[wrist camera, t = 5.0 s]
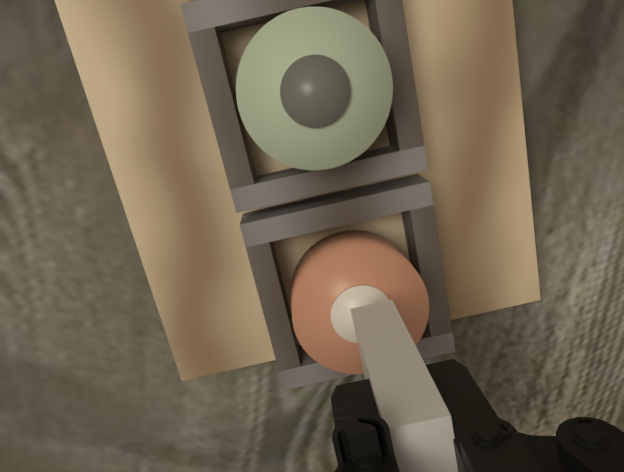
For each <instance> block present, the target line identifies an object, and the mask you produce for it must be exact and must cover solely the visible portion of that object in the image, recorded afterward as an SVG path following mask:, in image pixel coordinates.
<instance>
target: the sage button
mask: <svg viewBox="0 0 624 472" xmlns="http://www.w3.org/2000/svg"><path fill="white" fill-rule="evenodd" d="M392 97H393V81H392V73H391V68H390V64H389V61H388V59H387V56H386V53H385V52H384V50H383V48H382V46H381V44H380V43H379V41H378V40H377V38H376V37H375V35H374V34H373V33H372V32H371V31H370V30H369V29H368V28H367V27H366V26H365V25H363V24H362V23H361V22H360V21H358V20H357V19H355V18H354V17H352V16H350V15H348V14H346V13H344V12H341V11H339V10H335V9H332V8H326V7H303V8H297V9H294V10H290V11H287V12H285V13H283V14H281V15H279V16H277V17H275V18H274V19H272V20H271V21H269V22H268V23H267V24H265V25H264V26H263V27H262V28H261V29H260V30H259V31H258V32H257V33H256V34H255V36H254V37H253V38H252V39H251V41H250V42H249V44H248V45H247V47H246V49H245V51H244V53H243V55H242V58H241V61H240V64H239V67H238V72H237V77H236V100H237V105H238V110H239V113H240V116H241V119H242V122H243V124H244V126H245V128H246V130H247V131H248V133H249V135H250V136H251V138H252V139H253V140H254V141H255V143H256V144H257V145H258V146H259V147H260V148H261V149H262V150H263V151H264V152H265V153H266V154H268V155H269V156H271V157H272V158H273V159H275V160H277V161H279V162H281V163H283V164H285V165H288V166H290V167H294V168H298V169H303V170H325V169H331V168H335V167H338V166H341V165H343V164H346V163H348V162H350V161H352V160H353V159H355V158H356V157H358V156H359V155H361V154H362V153H363V152H364V151H366V150H367V149H368V148H369V147H370V146H371V145H372V144H373V142H374V141H375V140H376V138H377V137H378V136H379V134H380V132H381V131H382V129H383V127H384V125H385V123H386V121H387V118H388V116H389V112H390V108H391V104H392Z"/></svg>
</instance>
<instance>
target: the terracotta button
mask: <svg viewBox="0 0 624 472" xmlns="http://www.w3.org/2000/svg"><path fill="white" fill-rule="evenodd" d="M388 300H393V302H394V304H395V306H396V308H397V310H398V312H399V314H400V316H401V318H402V320H403V322H404V324H405V326H406V328H407V330H408V332H409V334H410V336H411V338H412V340H413V342H414V344H415V346H416V345H417V343H418V342H419V340H420V339H421V337H422V335H423V333H424V331H425V328H426V325H427V321H428V316H429V298H428V294H427V290H426V287H425V285H424V282H423V280H422V279H421V277H420V275H419V274H418V272H417V271H416V270H415V268H414V267H413V266H412V264H411V263H410V262H409V260H408V259H407V258H406V256H405V255H404V254H403V253H402V251H401V250H400V249H399V248H398V247H397V246H396V245H395V244H394V243H392V242H391V241H390V240H388V239H387V238H385V237H383V236H381V235H378V234H376V233H373V232H368V231H362V230H348V231H342V232H338V233H334V234H331V235H329V236H327V237H324V238H323V239H321V240H319V241H318V242H316V243H315V244H314V245H313V246H311V247H310V248H309V249H308V250H307V251H306V252H305V253H304V255H303V256H302V257H301V259H300V260H299V262H298V264H297V266H296V268H295V270H294V273H293V277H292V281H291V308H292V322H293V328H294V331H295V334H296V337H297V339H298V341H299V343H300V344H301V346H302V347H303V349H304V350H305V351H306V352H307V354H308V355H309V356H310V357H311V358H313V359H314V360H315V361H316V362H318V363H319V364H321V365H323V366H324V367H327V368H329V369H331V370H334V371H337V372H341V373H346V374H364V371H363V366H362V361H361V357H360V352H359V347H358V343H357V338H356V333H355V329H354V324H353V319H352V315H351V310H350V309H352V308H356V307H361V306H365V305H370V304H374V303H379V302H383V301H388Z"/></svg>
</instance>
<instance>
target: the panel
mask: <svg viewBox="0 0 624 472" xmlns="http://www.w3.org/2000/svg"><path fill="white" fill-rule="evenodd" d="M55 3H56V6H57V9H58V12H59V15H60V18H61V21H62V24H63V27H64V30H65V33H66V36H67V39H68V42H69V45H70V48H71V51H72V54H73V57H74V60H75V63H76V66H77V69H78V72H79V75H80V78H81V81H82V84H83V87H84V90H85V93H86V96H87V99H88V102H89V105H90V108H91V111H92V114H93V117H94V120H95V123H96V126H97V129H98V132H99V135H100V138H101V141H102V144H103V147H104V150H105V153H106V156H107V159H108V162H109V165H110V168H111V171H112V174H113V177H114V180H115V183H116V186H117V189H118V192H119V195H120V198H121V201H122V204H123V207H124V210H125V213H126V216H127V219H128V222H129V225H130V228H131V231H132V234H133V237H134V240H135V243H136V245H137V248H138V251H139V254H140V257H141V260H142V263H143V266H144V269H145V272H146V275H147V278H148V281H149V284H150V287H151V290H152V293H153V296H154V299H155V302H156V305H157V308H158V311H159V314H160V317H161V320H162V323H163V326H164V329H165V332H166V335H167V338H168V341H169V344H170V347H171V350H172V353H173V356H174V359H175V362H176V365H177V368H178V371H179V374H180V377H181V380H182V381H185V380H189V379H193V378H198V377H202V376H207V375H211V374H216V373H220V372H224V371H229V370H233V369H238V368H242V367H247V366H251V365H255V364H260V363H264V362H269V361H273V360H276V362H277V366H278V370H279V374H280V377H281V381H282V385H283V388H284V390H289V389H293V388H297V387H302V386H306V385H311V384H315V383H320V382H324V381H328V380H333V379H337V378H342V377H346V376H350V375H355V374H346V373H341V372H337V371H334V370H331V369H329V368H327V367H324V366H323V365H321V364H319V363H318V362H316V361H315V360H314V359H313V358H311V357H310V356H309V355H308V354H307V352H306V351H305V350H304V349H303V347H302V346H301V344H300V343H299V341H298V339H297V337H296V334H295V331H294V328H293V322H292V308H291V281H292V277H293V273H294V270H295V268H296V266H297V264H298V262H299V260H300V259H301V257H302V256H303V255H304V253H305V252H306V251H307V250H308V249H309V248H310V247H311V246H313V245H314V244H315V243H316V242H318V241H319V240H321V239H323V238H324V237H327V236H329V235H331V234H334V233H338V232H342V231H348V230H362V231H368V232H373V233H376V234H378V235H381V236H383V237H385V238H387V239H388V240H390V241H391V242H392V243H394V244H395V245H396V246H397V247H398V248H399V249H400V250H401V251H402V253H403V254H404V255H405V256H406V258H407V259H408V260H409V262H410V263H411V264H412V266H413V267H414V268H415V270H416V271H417V272H418V274H419V275H420V277H421V279H422V280H423V282H424V285H425V287H426V290H427V294H428V298H429V316H428V321H427V325H426V328H425V331H424V333H423V335H422V337H421V339H420V340H419V342H418V343H417V345H416V347H417V349H418V351H419V353H420V355H421V357H422V359H426V358H430V357H434V356H439V355H443V354H448V353H452V352H456V350H455V343H454V336H453V330H452V323H451V320H454V319H459V318H463V317H467V316H472V315H476V314H481V313H485V312H489V311H494V310H498V309H503V308H507V307H512V306H516V305H520V304H525V303H529V302H534V301H538V300H541V298H540V288H539V277H538V266H537V256H536V245H535V235H534V224H533V214H532V203H531V192H530V182H529V171H528V161H527V150H526V139H525V129H524V118H523V108H522V97H521V86H520V76H519V65H518V55H517V44H516V33H515V23H514V12H513V2H512V0H55ZM303 7H326V8H332V9H335V10H339V11H341V12H344V13H346V14H348V15H350V16H352V17H354V18H355V19H357V20H358V21H360V22H361V23H362V24H363V25H365V26H366V27H367V28H368V29H369V30H370V31H371V32H372V33H373V34H374V35H375V37H376V38H377V40H378V41H379V43H380V44H381V46H382V48H383V50H384V52H385V53H386V56H387V59H388V61H389V64H390V68H391V73H392V81H393V97H392V104H391V108H390V112H389V116H388V118H387V121H386V123H385V125H384V127H383V129H382V131H381V132H380V134H379V136H378V137H377V138H376V140H375V141H374V142H373V144H372V145H371V146H370V147H369V148H368V149H367V150H366V151H364V152H363V153H362V154H361V155H359V156H358V157H356V158H355V159H353V160H352V161H350V162H348V163H346V164H343V165H341V166H338V167H335V168H331V169H325V170H303V169H298V168H294V167H290V166H288V165H285V164H283V163H281V162H279V161H277V160H275V159H273V158H272V157H271V156H269V155H268V154H266V153H265V152H264V151H263V150H262V149H261V148H260V147H259V146H258V145H257V144H256V143H255V141H254V140H253V139H252V138H251V136H250V135H249V133H248V131H247V130H246V128H245V126H244V124H243V122H242V119H241V116H240V113H239V110H238V105H237V100H236V77H237V72H238V67H239V64H240V61H241V58H242V55H243V53H244V51H245V49H246V47H247V45H248V44H249V42H250V41H251V39H252V38H253V37H254V36H255V34H256V33H257V32H258V31H259V30H260V29H261V28H262V27H263V26H264V25H265V24H267V23H268V22H269V21H271V20H272V19H274V18H275V17H277V16H279V15H281V14H283V13H285V12H287V11H290V10H294V9H297V8H303Z"/></svg>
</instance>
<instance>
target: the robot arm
mask: <svg viewBox="0 0 624 472" xmlns="http://www.w3.org/2000/svg"><path fill="white" fill-rule="evenodd" d="M350 310H351V315H352V319H353V324H354V329H355V333H356V338H357V343H358V347H359V352H360V357H361V361H362V366H363V371H364V375H365V379H366V380H361V381H357V382H352V383H348V384H343V385H338V386H336V388H335V390H334V392H333V394H332V396H331V402H332V408H333V415H334V422H335V429H334V431H333V435H332V441H333V445H334V449H335V453H336V457H337V461H338V467H337V469H336V470H335V472H624V432H622V431H621V430H619V429H618V428H616V427H615V426H613V425H611V424H609V423H607V422H605V421H603V420H599V419H595V418H591V417H577V418H573V419H569V420H566V421H564V422H563V423H561V424H560V425H559V426H558V429H557V431H556V436H534V435H526V434H522V433H518V432H517V430H516V429H515V428H514V427H513V426H512V425H511V424H510V423H509V422H506V421H504V420H502V419H500V418H498V416H497V415H496V413H495V412H494V410H493V409H492V407H491V405H490V404H489V402H488V401H487V399H486V398H485V396H484V395H483V393H482V392H481V390H480V388H478V385H477V384H476V382H475V381H474V379H473V378H472V376H471V375H470V373H469V371H468V370H467V368H466V367H465V366H463V365H462V364H460V363H458V362H457V361H455V360H453V359H451V360H447V361H442V362H438V363H433V364H428V365H425V363H424V361H423V359H422V357H421V355H420V353H419V351H418V349H417V347H416V346H415V344H414V342H413V340H412V338H411V336H410V334H409V332H408V330H407V328H406V326H405V324H404V322H403V320H402V318H401V316H400V314H399V312H398V310H397V308H396V306H395V304H394V302H393V300H388V301H383V302H379V303H374V304H370V305H365V306H361V307H356V308H352V309H350Z"/></svg>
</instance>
